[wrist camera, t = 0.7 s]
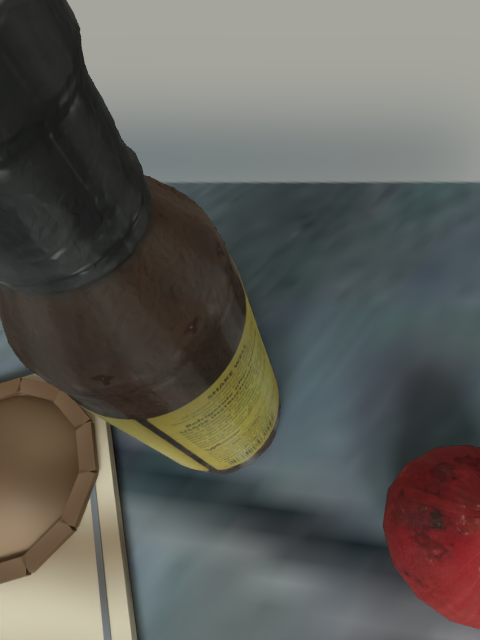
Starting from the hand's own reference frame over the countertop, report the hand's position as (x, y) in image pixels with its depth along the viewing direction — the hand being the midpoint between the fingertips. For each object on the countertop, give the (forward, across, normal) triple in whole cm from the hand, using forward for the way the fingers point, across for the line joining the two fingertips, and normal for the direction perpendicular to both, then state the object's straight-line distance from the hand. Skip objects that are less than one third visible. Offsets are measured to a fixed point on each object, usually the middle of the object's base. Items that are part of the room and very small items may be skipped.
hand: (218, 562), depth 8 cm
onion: (+11, -7, +9) cm, 16 cm away
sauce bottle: (+15, +3, +4) cm, 16 cm away
